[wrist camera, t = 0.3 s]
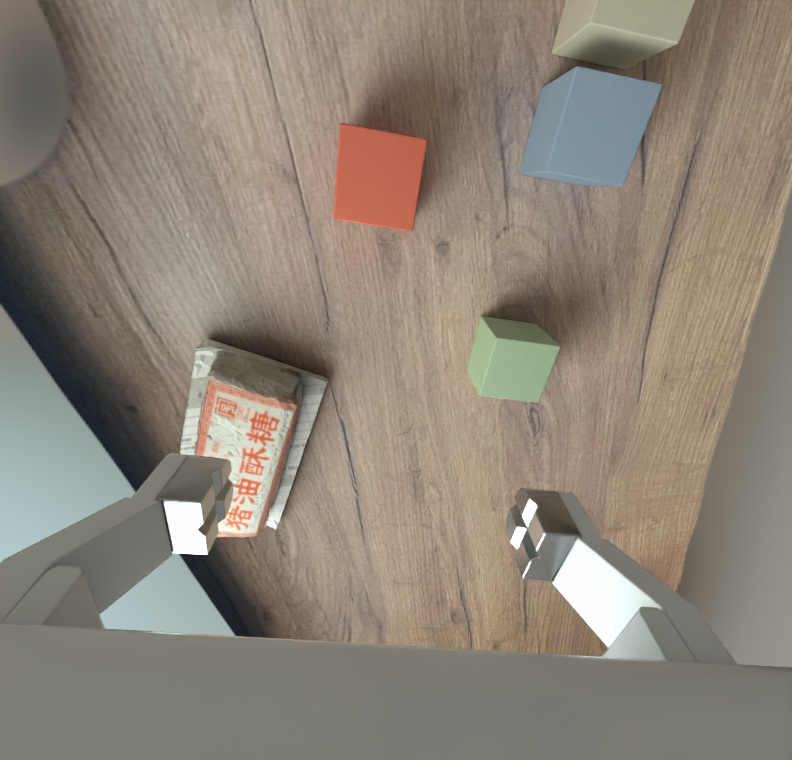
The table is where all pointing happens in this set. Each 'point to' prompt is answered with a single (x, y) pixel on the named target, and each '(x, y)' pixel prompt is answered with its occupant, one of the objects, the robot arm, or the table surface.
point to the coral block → (378, 177)
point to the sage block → (511, 359)
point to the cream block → (620, 29)
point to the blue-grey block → (588, 127)
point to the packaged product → (250, 428)
